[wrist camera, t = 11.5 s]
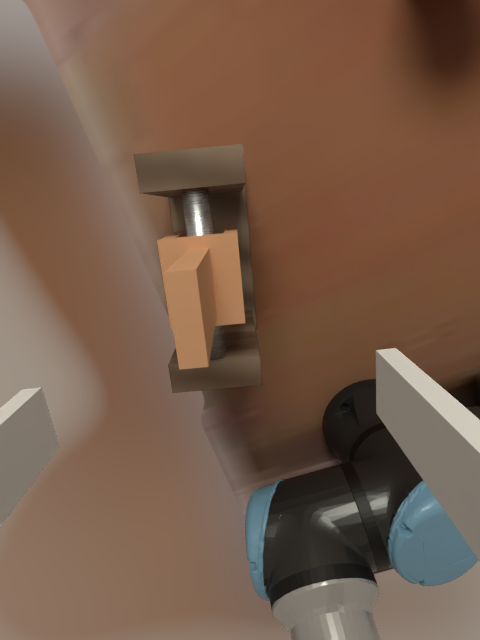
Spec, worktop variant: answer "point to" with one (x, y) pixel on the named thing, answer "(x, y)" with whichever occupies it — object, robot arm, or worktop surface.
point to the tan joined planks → (201, 290)
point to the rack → (204, 219)
